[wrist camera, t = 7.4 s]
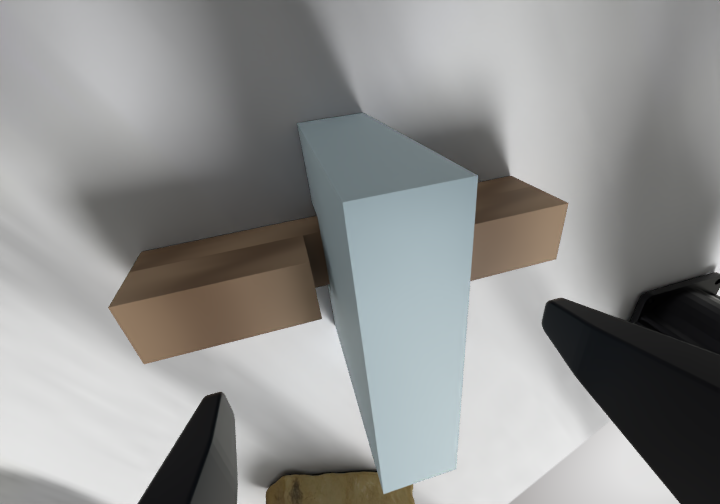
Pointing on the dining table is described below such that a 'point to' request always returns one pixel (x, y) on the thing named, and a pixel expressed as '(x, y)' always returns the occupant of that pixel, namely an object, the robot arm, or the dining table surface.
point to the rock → (335, 490)
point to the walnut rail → (297, 273)
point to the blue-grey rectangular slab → (396, 284)
